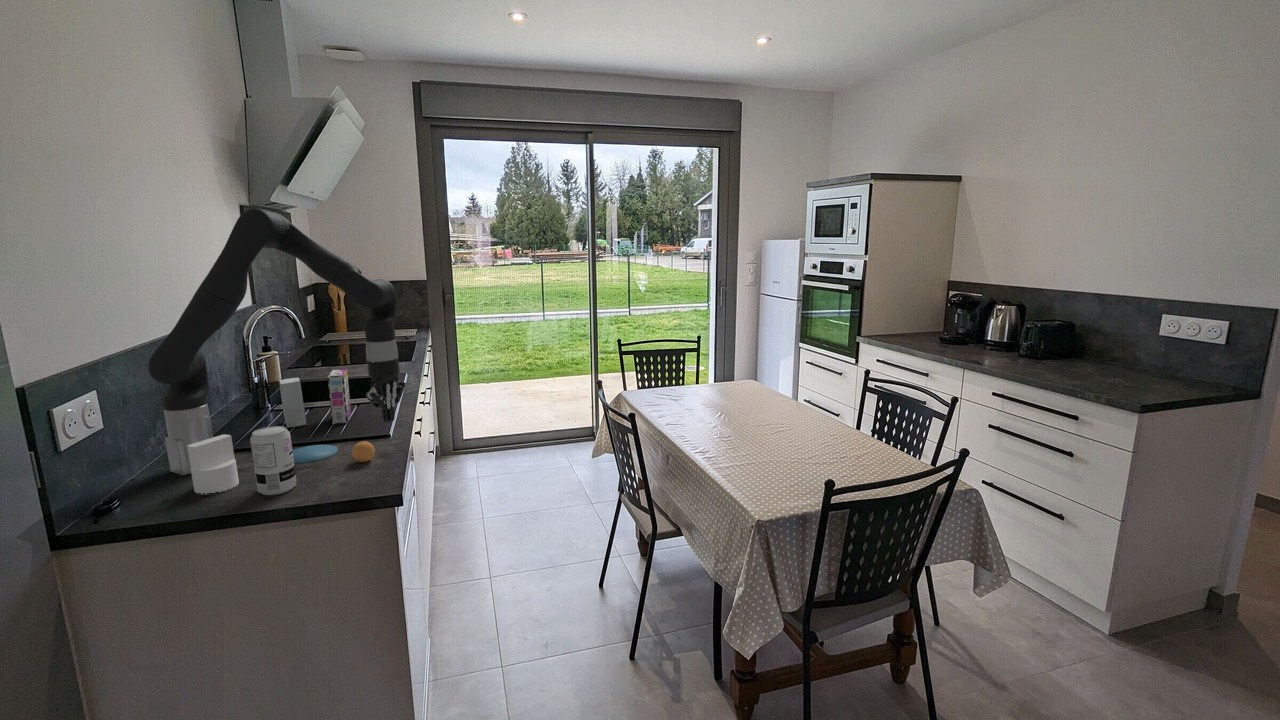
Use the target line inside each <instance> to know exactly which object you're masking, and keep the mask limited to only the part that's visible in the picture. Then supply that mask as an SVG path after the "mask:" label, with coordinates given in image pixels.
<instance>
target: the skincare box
mask: <svg viewBox="0 0 1280 720" xmlns="http://www.w3.org/2000/svg"><path fill="white" fill-rule="evenodd" d="M278 382H279V388H280V389H279V390H280V398H281V405H282V410H283V411H282V413H283V416H284V417H283V419H284V422H285V425H286V426H285V427H286V428H292V427H293V428H294V427H301V426H306V425H308V423H307V418H306V413H305V406H304V399H303V392H302V385H301V381H300V378H299V377H291V378H285V379H279V381H278Z"/></svg>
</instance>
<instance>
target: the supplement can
mask: <svg viewBox="0 0 1280 720" xmlns="http://www.w3.org/2000/svg"><path fill="white" fill-rule="evenodd" d="M249 442H250V447H251V454H252V462H253V467H254V468H253V469H254V474H255V482H256V483H255V484H256V488H257V492H258V493H260V494H262V495H264V496H275V495H276V496H277V495H281V494H284V493H287V492H289V491H291V490H293V489H294V488H293V487H295V486H296V485H297V483H298V482H297V474H296V468H295V467H296V466H295V463H294V459H293V451H292V450H293V444H292V437H291V433H290V431H289V430H288V429H287V426H281V425H276V426H275V425H274V426H267V427H261V428H259V429H256V430H254V431H253V432H252V433H251V437H250V438H249Z"/></svg>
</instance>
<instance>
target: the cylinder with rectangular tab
mask: <svg viewBox="0 0 1280 720" xmlns="http://www.w3.org/2000/svg"><path fill="white" fill-rule="evenodd" d="M232 438H233V437H232V435H230V434H220V435H218V436H213V438H210V439H207V440H203V441H200V442H197V443H194V444H190V445H187V447H188V453H189V459H190V465H191V479H192V485H193V491H194V493H195V492H196V493H195V494H197V493H201V494H200V495H208V494H207V493H214V494H216V493H215V492H219V493H222V491H223V492H226V491H229V490H231V489H234V488H236V487H237V486H238V485H239V483H240V480H239V474H238V467H237V461H236V457H235V451H234V446H233V440H232ZM233 487H234V488H233ZM228 489H229V490H228ZM203 493H205V494H203Z"/></svg>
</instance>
